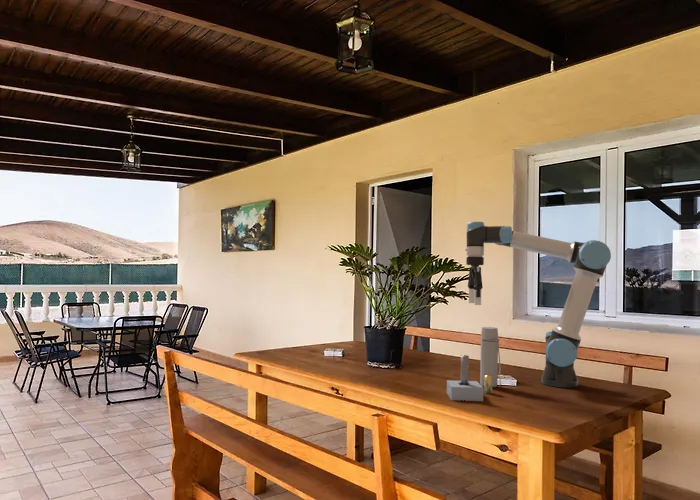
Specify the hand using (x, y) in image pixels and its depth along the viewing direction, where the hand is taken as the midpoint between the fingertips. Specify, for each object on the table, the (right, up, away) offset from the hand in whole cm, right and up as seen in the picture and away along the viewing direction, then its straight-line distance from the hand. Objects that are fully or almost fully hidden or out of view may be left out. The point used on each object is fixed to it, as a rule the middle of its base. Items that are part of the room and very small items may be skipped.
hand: (474, 304), depth 231 cm
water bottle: (+5, -35, -8) cm, 36 cm away
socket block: (-11, -33, -28) cm, 45 cm away
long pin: (-11, -33, -28) cm, 45 cm away
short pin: (+1, -34, -20) cm, 40 cm away
